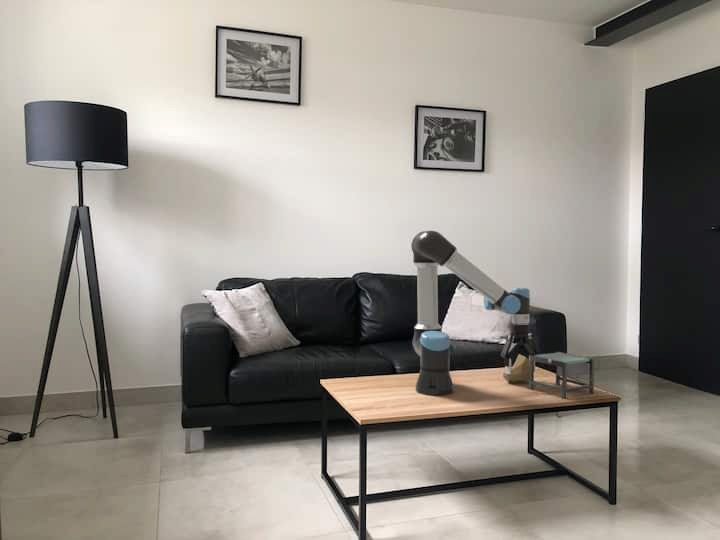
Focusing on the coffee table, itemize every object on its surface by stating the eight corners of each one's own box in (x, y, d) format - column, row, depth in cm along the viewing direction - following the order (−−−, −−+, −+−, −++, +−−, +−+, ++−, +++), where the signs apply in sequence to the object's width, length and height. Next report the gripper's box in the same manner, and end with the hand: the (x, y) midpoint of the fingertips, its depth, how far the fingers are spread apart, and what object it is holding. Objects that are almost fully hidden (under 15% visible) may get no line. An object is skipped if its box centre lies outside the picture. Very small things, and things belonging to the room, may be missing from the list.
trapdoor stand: (563, 399, 228) (563, 362, 227) (528, 389, 243) (528, 354, 243) (594, 393, 237) (595, 358, 236) (558, 384, 253) (559, 351, 252)
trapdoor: (565, 377, 229) (565, 362, 229) (534, 369, 243) (534, 355, 243) (589, 373, 236) (589, 358, 236) (557, 366, 250) (557, 352, 250)
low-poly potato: (538, 368, 260) (513, 358, 265) (540, 355, 252) (514, 345, 257) (525, 396, 253) (499, 385, 258) (526, 383, 245) (500, 372, 250)
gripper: (505, 326, 245) (504, 376, 245) (548, 322, 258) (547, 370, 258) (492, 324, 251) (492, 373, 252) (534, 321, 264) (534, 368, 265)
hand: (520, 372), depth 255 cm, fingers open, 13 cm apart
